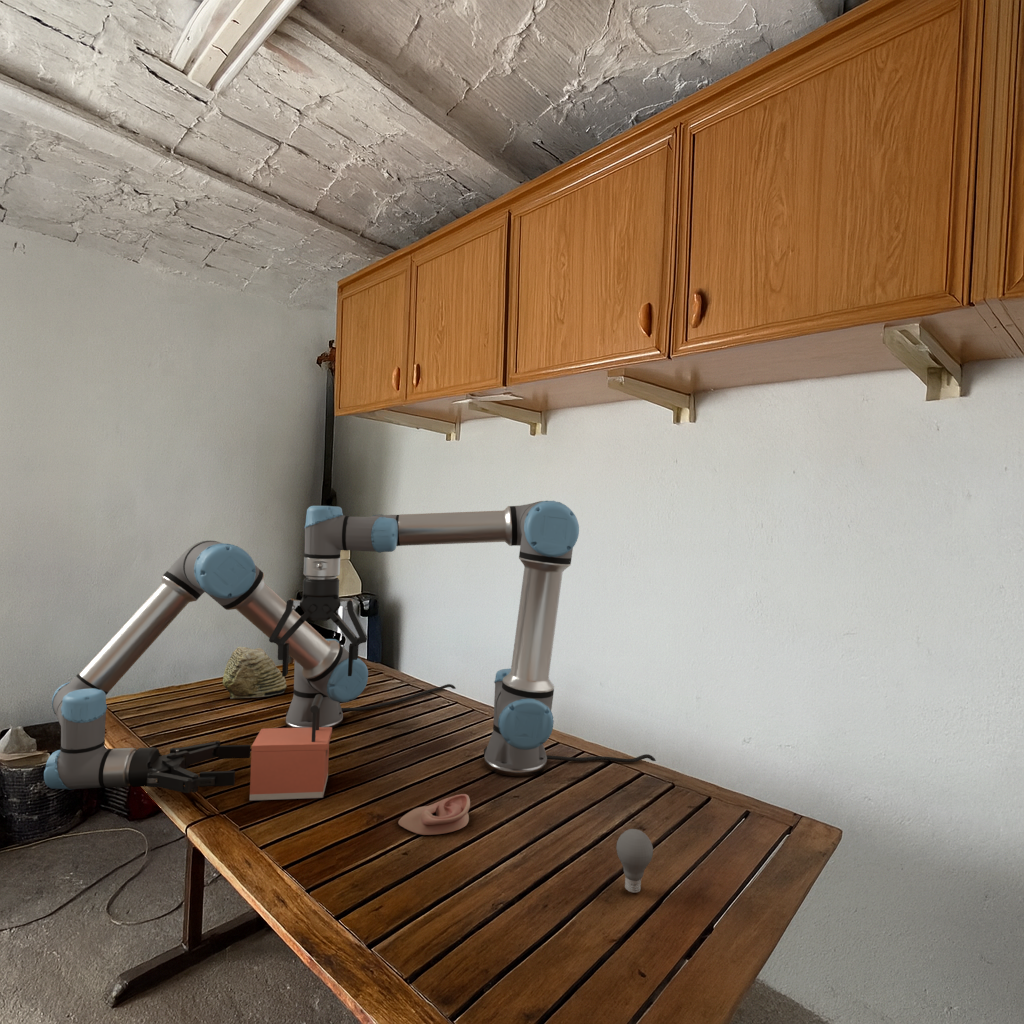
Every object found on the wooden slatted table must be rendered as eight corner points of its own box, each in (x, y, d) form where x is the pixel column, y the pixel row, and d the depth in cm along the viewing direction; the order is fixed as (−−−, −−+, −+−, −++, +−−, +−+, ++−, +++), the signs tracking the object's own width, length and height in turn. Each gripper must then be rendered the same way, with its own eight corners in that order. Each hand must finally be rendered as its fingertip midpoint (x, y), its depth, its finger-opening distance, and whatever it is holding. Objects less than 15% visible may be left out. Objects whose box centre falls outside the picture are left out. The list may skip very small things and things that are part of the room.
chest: (327, 777, 143) (329, 732, 143) (322, 797, 133) (324, 750, 133) (259, 779, 140) (261, 734, 140) (249, 800, 131) (251, 752, 131)
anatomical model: (392, 810, 121) (414, 784, 132) (391, 830, 121) (413, 803, 132) (459, 820, 118) (475, 792, 130) (458, 841, 118) (474, 812, 130)
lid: (332, 732, 143) (333, 692, 143) (327, 749, 133) (329, 706, 133) (261, 734, 140) (263, 693, 140) (251, 751, 131) (253, 707, 130)
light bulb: (610, 879, 108) (613, 822, 108) (644, 879, 109) (647, 822, 109) (619, 902, 102) (622, 840, 102) (655, 901, 103) (658, 840, 103)
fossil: (218, 695, 195) (220, 647, 195) (278, 685, 208) (279, 640, 207) (228, 703, 189) (230, 653, 188) (289, 692, 201) (290, 645, 201)
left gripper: (156, 760, 143) (255, 757, 147) (105, 815, 119) (226, 810, 122) (157, 727, 143) (256, 725, 147) (107, 775, 119) (227, 771, 122)
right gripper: (257, 578, 131) (253, 679, 131) (380, 580, 135) (376, 679, 136) (264, 573, 138) (260, 670, 139) (380, 576, 143) (377, 669, 143)
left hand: (242, 764), depth 135 cm, fingers open, 13 cm apart
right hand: (317, 674), depth 137 cm, fingers open, 13 cm apart
